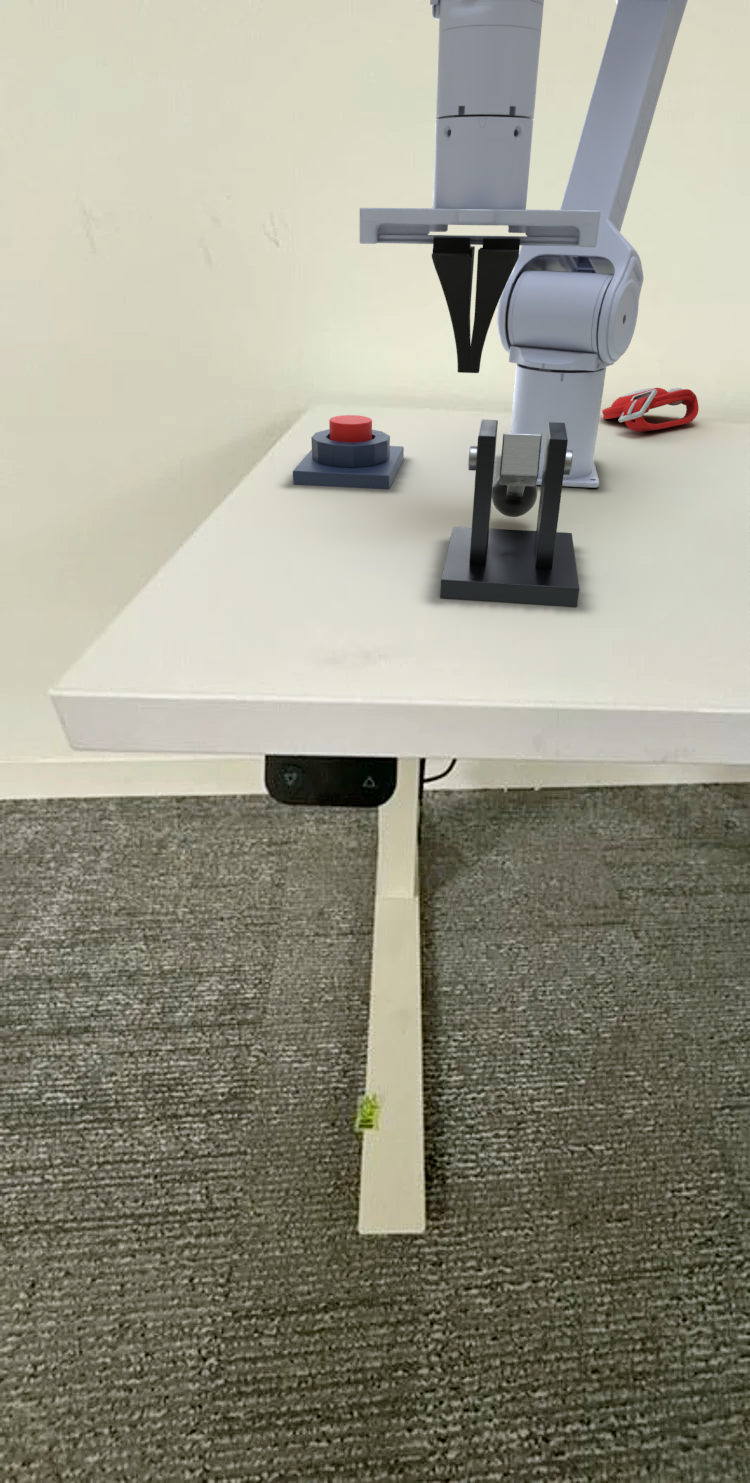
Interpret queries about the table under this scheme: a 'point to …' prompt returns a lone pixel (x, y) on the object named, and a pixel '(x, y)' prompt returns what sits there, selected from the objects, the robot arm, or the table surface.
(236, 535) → the table surface
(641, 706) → the table surface
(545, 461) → the bracket
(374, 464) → the box
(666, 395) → the red strap with buckle
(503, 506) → the lever
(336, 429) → the button
